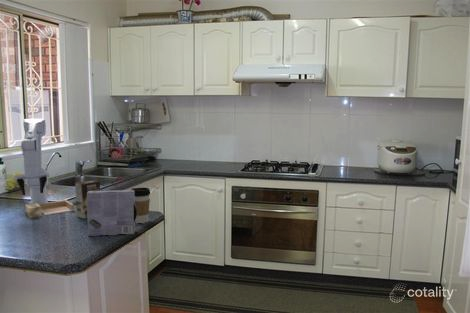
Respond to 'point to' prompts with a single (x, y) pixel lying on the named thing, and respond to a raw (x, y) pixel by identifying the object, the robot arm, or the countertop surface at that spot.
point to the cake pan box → (111, 212)
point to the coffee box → (84, 195)
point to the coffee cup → (142, 204)
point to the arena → (56, 207)
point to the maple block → (33, 210)
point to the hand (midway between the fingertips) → (32, 194)
